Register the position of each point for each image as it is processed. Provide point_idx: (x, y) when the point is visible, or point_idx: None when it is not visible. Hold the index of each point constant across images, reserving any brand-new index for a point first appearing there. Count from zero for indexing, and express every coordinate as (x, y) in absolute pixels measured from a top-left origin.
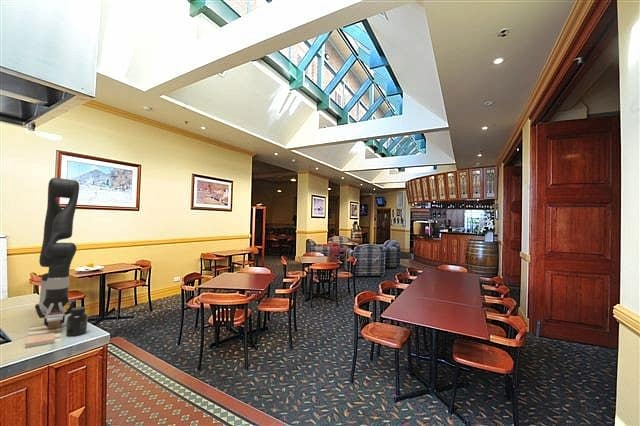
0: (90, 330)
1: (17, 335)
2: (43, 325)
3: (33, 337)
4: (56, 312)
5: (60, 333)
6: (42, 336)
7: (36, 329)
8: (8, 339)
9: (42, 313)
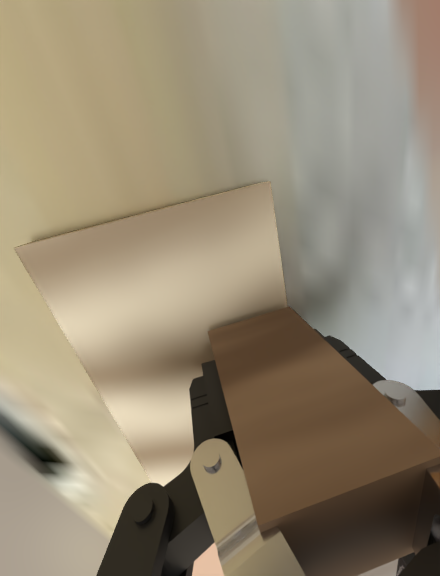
0: (425, 376)
1: (29, 377)
2: (144, 250)
3: (211, 556)
4: (363, 561)
5: None
6: None
7: (134, 354)
8: (20, 437)
9: (161, 542)
